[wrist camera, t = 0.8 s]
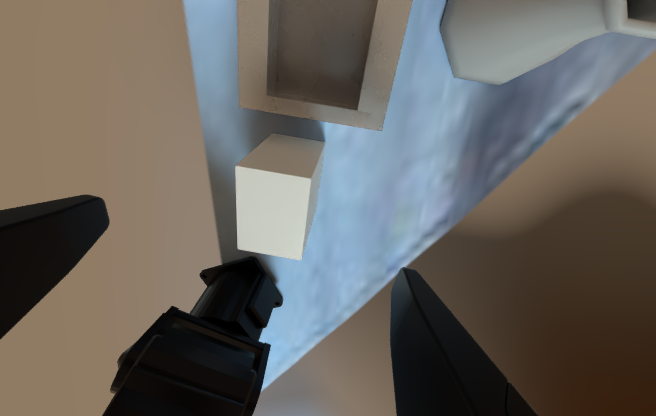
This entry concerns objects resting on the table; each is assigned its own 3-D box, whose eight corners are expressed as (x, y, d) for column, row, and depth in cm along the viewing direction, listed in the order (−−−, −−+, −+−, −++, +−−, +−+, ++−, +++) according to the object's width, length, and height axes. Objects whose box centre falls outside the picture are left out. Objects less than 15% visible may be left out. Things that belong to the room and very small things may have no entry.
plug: (316, 206, 23) (301, 260, 17) (269, 198, 23) (237, 249, 17) (325, 142, 20) (311, 178, 14) (272, 133, 20) (235, 165, 14)
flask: (439, -49, 15) (557, -208, 6) (594, -88, 13) (1036, -364, 5) (437, 94, 18) (512, 129, 9) (561, 74, 17) (783, 91, 8)
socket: (379, 122, 19) (382, 133, 16) (252, 101, 19) (235, 108, 17) (418, -48, 15) (431, -71, 12) (253, -73, 15) (231, -102, 12)
